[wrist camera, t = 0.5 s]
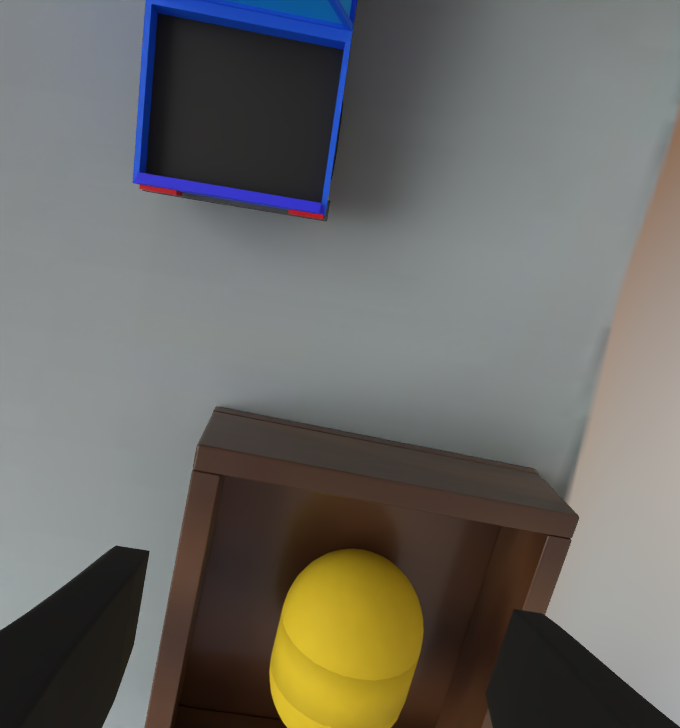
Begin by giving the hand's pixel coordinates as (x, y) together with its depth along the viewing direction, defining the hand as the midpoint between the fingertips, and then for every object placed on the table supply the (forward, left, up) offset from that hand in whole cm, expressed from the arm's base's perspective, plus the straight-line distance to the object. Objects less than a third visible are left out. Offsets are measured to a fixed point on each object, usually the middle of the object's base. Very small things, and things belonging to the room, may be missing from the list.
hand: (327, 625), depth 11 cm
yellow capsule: (-6, -2, -9) cm, 10 cm away
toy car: (+13, +4, -9) cm, 17 cm away
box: (-6, -2, -9) cm, 11 cm away
